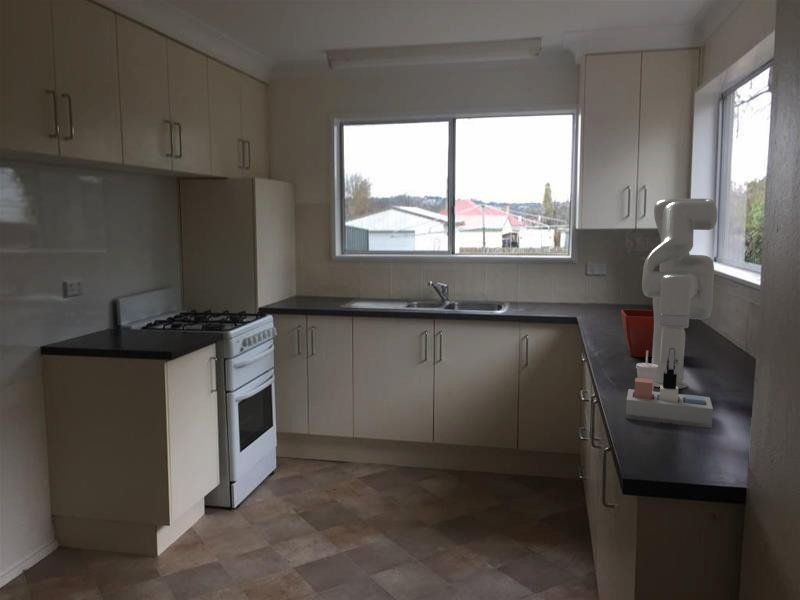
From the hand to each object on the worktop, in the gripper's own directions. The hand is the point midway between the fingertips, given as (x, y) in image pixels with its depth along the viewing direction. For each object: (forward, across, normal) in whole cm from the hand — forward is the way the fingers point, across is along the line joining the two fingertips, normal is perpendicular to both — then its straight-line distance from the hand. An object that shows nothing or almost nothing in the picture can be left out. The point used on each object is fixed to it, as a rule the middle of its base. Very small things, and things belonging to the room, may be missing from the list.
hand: (669, 387), depth 174 cm
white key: (+4, 0, 0) cm, 5 cm away
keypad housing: (+8, 0, 0) cm, 8 cm away
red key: (+3, 0, -6) cm, 7 cm away
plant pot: (+8, -86, -7) cm, 87 cm away
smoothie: (+8, -20, -6) cm, 23 cm away
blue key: (+6, 0, +6) cm, 9 cm away
